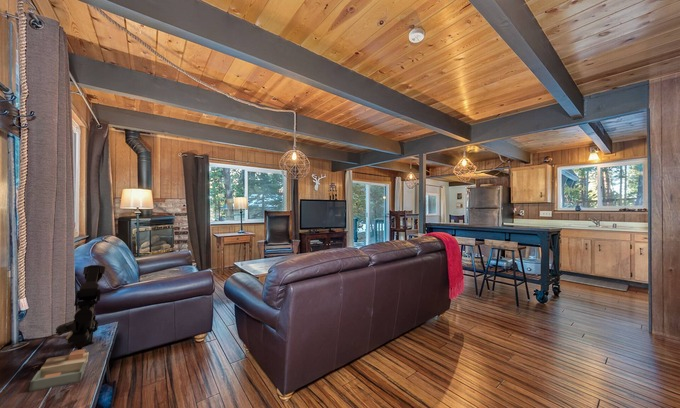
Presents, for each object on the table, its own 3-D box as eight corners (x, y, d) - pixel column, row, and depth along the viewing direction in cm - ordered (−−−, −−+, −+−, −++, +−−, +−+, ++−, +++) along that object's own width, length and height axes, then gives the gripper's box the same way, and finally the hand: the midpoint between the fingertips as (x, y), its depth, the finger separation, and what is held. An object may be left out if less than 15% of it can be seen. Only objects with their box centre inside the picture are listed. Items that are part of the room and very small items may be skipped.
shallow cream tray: (46, 367, 113) (48, 358, 113) (87, 361, 120) (88, 352, 121) (38, 379, 106) (40, 368, 106) (83, 371, 113) (84, 361, 113)
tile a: (71, 355, 117) (71, 350, 117) (84, 353, 119) (85, 348, 120) (68, 360, 113) (69, 355, 113) (82, 358, 116) (83, 353, 116)
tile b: (41, 381, 101) (40, 386, 101) (58, 378, 104) (57, 383, 103) (45, 375, 105) (44, 380, 104) (61, 372, 107) (60, 377, 107)
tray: (36, 380, 105) (38, 370, 105) (84, 371, 113) (85, 362, 113) (28, 391, 98) (30, 381, 99) (80, 381, 106) (81, 372, 107)
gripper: (65, 310, 124) (60, 344, 123) (53, 325, 108) (46, 364, 107) (97, 307, 130) (92, 340, 129) (89, 321, 115) (84, 358, 114)
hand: (79, 350), depth 120 cm, fingers closed
